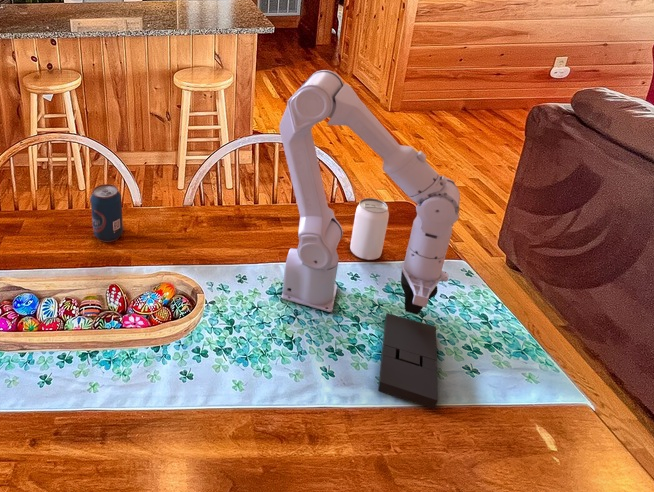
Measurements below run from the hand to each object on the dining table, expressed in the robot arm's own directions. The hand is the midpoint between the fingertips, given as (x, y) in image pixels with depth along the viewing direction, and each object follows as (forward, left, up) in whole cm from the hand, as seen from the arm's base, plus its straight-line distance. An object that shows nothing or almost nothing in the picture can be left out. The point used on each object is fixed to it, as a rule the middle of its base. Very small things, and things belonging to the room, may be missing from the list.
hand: (411, 310), depth 90 cm
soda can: (-64, +2, -4) cm, 64 cm away
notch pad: (0, -13, -3) cm, 13 cm away
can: (-9, +19, -4) cm, 22 cm away
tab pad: (0, -5, -3) cm, 6 cm away
